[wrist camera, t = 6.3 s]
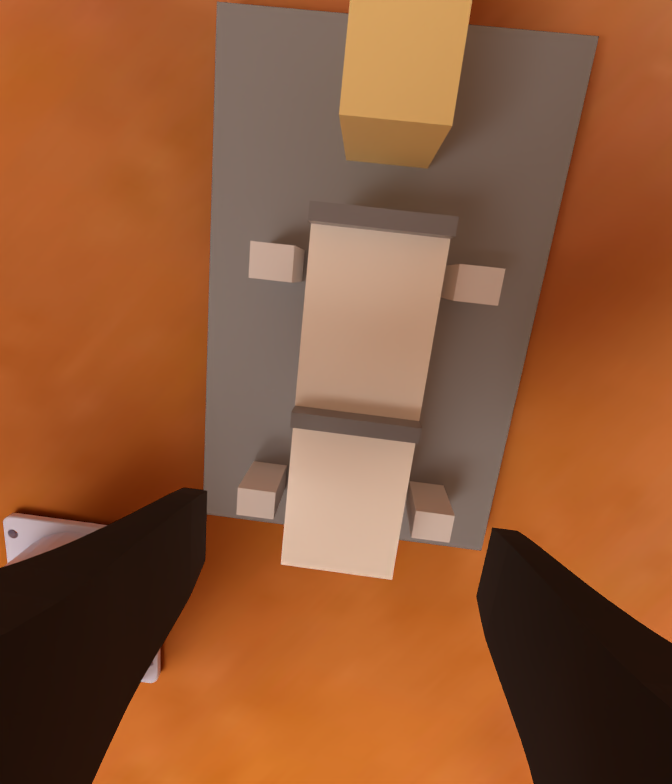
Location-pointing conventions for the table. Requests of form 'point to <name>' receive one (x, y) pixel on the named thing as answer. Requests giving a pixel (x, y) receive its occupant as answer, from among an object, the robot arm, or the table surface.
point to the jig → (389, 191)
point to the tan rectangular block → (401, 78)
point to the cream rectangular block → (361, 382)
